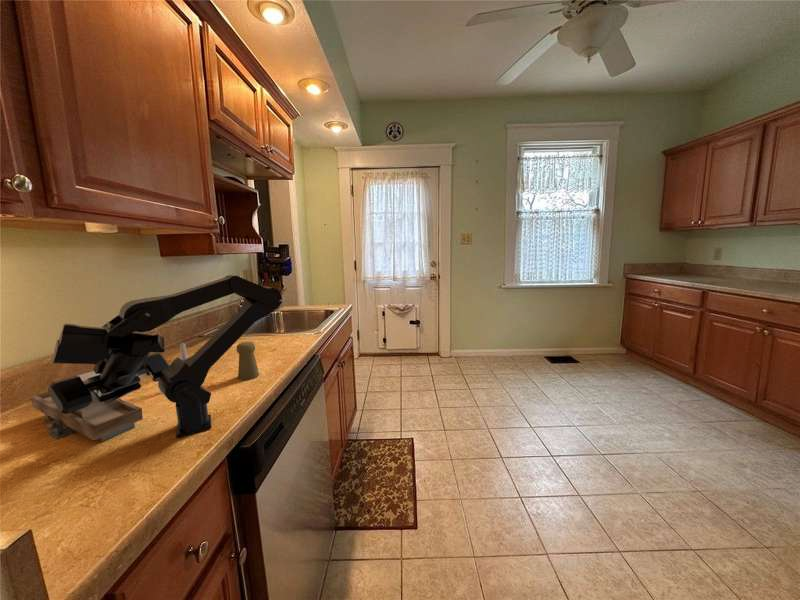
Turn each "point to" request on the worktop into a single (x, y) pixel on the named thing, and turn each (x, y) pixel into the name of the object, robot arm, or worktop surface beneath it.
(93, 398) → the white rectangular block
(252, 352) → the cork
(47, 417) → the pivot stand
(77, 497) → the worktop surface
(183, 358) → the screw
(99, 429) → the wooden serving tray
